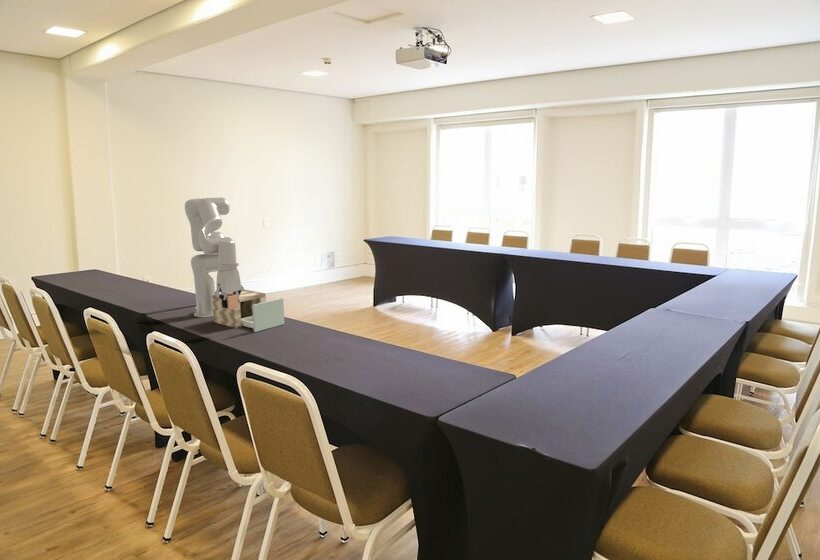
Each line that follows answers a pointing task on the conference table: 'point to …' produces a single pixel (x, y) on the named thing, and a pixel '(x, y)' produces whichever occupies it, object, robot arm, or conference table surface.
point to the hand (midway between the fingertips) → (230, 306)
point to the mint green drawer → (265, 315)
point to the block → (232, 301)
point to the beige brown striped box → (234, 315)
